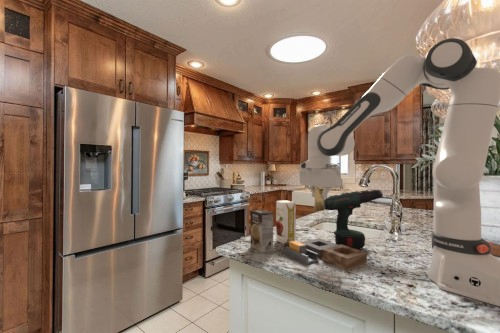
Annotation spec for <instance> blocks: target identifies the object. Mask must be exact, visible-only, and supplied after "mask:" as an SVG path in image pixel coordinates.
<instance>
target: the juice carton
mask: <svg viewBox="0 0 500 333" xmlns="http://www.w3.org/2000/svg"><path fill="white" fill-rule="evenodd" d="M296 209H297V208H296V201H290V200H288V199H287V200H283V199H282V200H276V204H275V220H276V221H275V222H276V223H275V225H276V228H275V232H276V233H275V236H276V237H275V238H276V241H277V242H279V243H281V244H282V245H284V243H286V242H290V241H297V240H296V236H297V235H296V234H297V233H296V231H297V230H296V229H297V228H296V226H297V224H296V223H297V222H296V220H297V219H296V212H297V211H296Z"/></svg>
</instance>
